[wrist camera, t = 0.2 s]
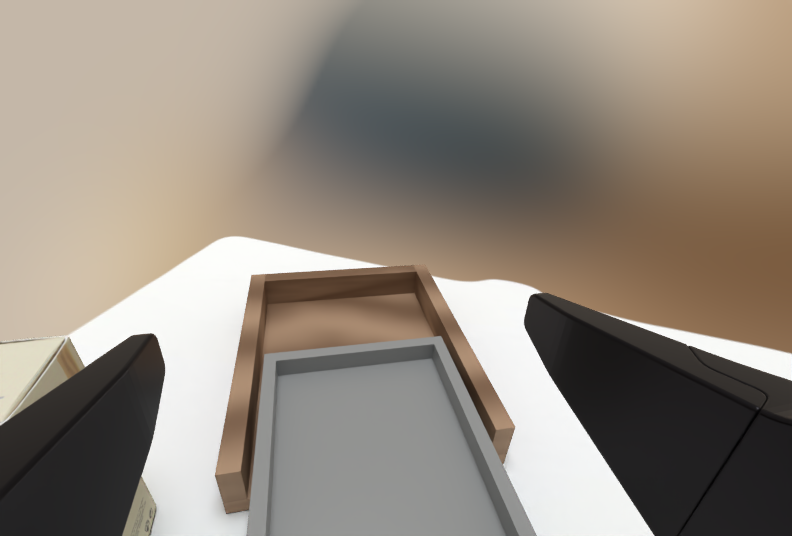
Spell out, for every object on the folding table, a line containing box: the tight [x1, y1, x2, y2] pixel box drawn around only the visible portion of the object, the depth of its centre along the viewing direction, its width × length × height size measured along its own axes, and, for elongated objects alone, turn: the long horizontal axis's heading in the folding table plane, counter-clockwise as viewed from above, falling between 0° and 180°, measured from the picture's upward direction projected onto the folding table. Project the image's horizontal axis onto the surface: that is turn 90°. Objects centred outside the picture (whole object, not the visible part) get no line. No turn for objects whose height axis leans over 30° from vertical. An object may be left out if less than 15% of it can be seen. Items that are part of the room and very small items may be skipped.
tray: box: [247, 336, 536, 536], centre depth 21 cm, size 18×16×4 cm
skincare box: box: [0, 336, 156, 536], centre depth 16 cm, size 6×4×12 cm
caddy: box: [215, 265, 515, 514], centre depth 30 cm, size 19×16×4 cm
